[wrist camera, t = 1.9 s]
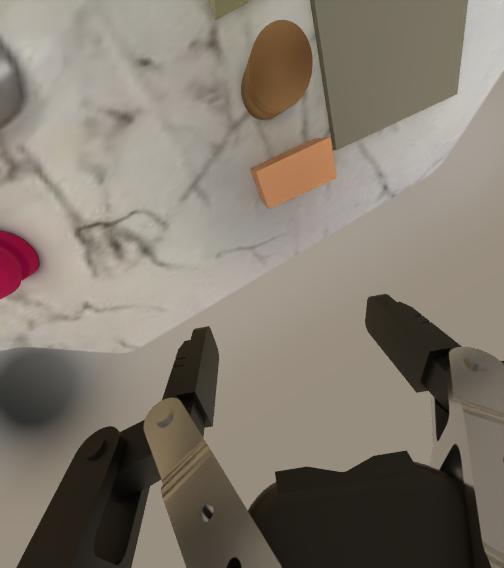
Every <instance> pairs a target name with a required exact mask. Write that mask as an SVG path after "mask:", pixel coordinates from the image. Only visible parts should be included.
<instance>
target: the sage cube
mask: <svg viewBox="0 0 504 568" xmlns="http://www.w3.org/2000/svg"><path fill="white" fill-rule="evenodd" d="M209 1H210V5H211V8H212V11H213V14H214V17H215V20H216V19H218V18H220V17H222V16H224V15H225V14H227V13H229V12H231V11H233V10H234V9H236V8H238V7H240V6H242V5H243V4H245V3H247V2H249V1H251V0H209Z"/></svg>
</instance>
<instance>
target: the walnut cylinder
mask: <svg viewBox="0 0 504 568" xmlns="http://www.w3.org/2000/svg"><path fill="white" fill-rule="evenodd" d="M311 73H312V52H311V47H310V44H309V41H308V39H307V37H306V35H305V34H304V32H303V31H302V30H301V28H300V27H298V26H297V25H296V24H294V23H293V22H290V21H287V20H278V21H275V22H272V23H270V24H269V25H267V26H266V27H265V28H264V29H263V30H262V31H261V32H260V34H259V35H258V37H257V39H256V41H255V43H254V45H253V48H252V51H251V54H250V57H249V60H248V64H247V67H246V70H245V73H244V76H243V79H242V85H241V94H242V99H243V102H244V105H245V107H246V109H247V110H248V112H249V113H250V114H251V115H252V116H254V117H255V118H257V119H260V120H268V119H271V118H273V117H275V116H276V115H278V114H280V113H281V112H283V111H284V110H286V109H288V108H289V107H291V106H292V105H294V104H295V103H296V102H298V101H299V100H300V98H301V97H302V96H303V94H304V93H305V91H306V89H307V87H308V84H309V82H310V78H311Z"/></svg>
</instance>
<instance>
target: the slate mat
mask: <svg viewBox="0 0 504 568" xmlns="http://www.w3.org/2000/svg"><path fill="white" fill-rule="evenodd" d="M310 1H311V8H312V14H313V21H314V27H315V34H316V40H317V47H318V53H319V60H320V66H321V73H322V79H323V86H324V92H325V99H326V105H327V112H328V119H329V125H330V132H331V138H332V145H333V150H337V149H340V148H342V147H344V146H346V145H348V144H350V143H353V142H355V141H357V140H359V139H361V138H363V137H365V136H368V135H370V134H372V133H374V132H376V131H378V130H381V129H383V128H385V127H387V126H389V125H391V124H393V123H396V122H398V121H400V120H402V119H404V118H406V117H409V116H411V115H413V114H415V113H417V112H419V111H421V110H424V109H426V108H428V107H430V106H432V105H434V104H436V103H439V102H441V101H443V100H445V99H447V98H449V97H452V96H454V95H456V94H457V91H458V82H459V73H460V65H461V56H462V47H463V39H464V30H465V22H466V13H467V4H468V0H310Z"/></svg>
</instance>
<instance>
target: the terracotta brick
mask: <svg viewBox="0 0 504 568" xmlns="http://www.w3.org/2000/svg"><path fill="white" fill-rule="evenodd" d="M251 172H252V174H253V177H254V180H255V183H256V186H257V188H258V191H259V194H260V197H261V200H262V202H263V203H264V204H265V205H266V206H267V207H268V208H272V207H274V206H276V205H278V204H280V203H283V202H285V201H287V200H289V199H292V198H294V197H296V196H298V195H300V194H303V193H305V192H307V191H309V190H312V189H314V188H316V187H318V186H321V185H323V184H325V183H327V182H329V181H332V180H334V179H336V178H337V177H336V171H335V164H334V158H333V151H332V145H331V138H330V137H325V138H318V139H313V140H311V141H308V142H306V143H304V144H302V145H300V146H298V147H296V148H294V149H291V150H289V151H287V152H285V153H283V154H281V155H279V156H277V157H275V158H272V159H270V160H268V161H266V162H264V163H262V164H260V165H258V166H255V167H253V168H251Z"/></svg>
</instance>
